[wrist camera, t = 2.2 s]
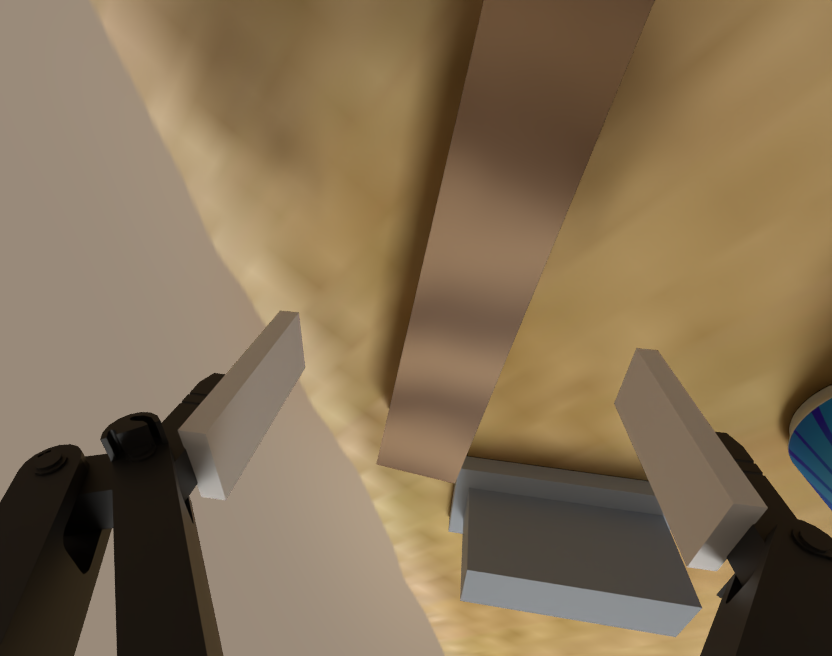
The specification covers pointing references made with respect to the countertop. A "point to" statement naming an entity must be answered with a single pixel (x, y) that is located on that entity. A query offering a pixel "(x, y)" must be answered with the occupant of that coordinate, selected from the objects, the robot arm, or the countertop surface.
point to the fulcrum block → (569, 547)
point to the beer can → (814, 442)
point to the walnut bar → (501, 210)
